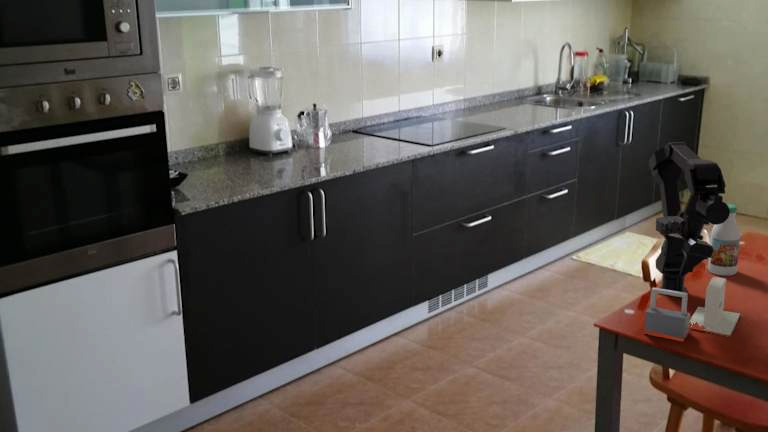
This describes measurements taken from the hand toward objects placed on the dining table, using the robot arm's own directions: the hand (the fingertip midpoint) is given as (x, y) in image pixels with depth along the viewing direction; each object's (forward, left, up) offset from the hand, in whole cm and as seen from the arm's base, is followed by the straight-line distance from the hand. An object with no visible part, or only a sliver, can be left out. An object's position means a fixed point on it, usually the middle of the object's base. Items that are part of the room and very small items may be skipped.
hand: (673, 269), depth 200 cm
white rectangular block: (+2, +11, -11) cm, 16 cm away
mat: (+2, +11, -12) cm, 16 cm away
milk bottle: (-36, +6, -12) cm, 39 cm away
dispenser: (+14, +2, -12) cm, 18 cm away
